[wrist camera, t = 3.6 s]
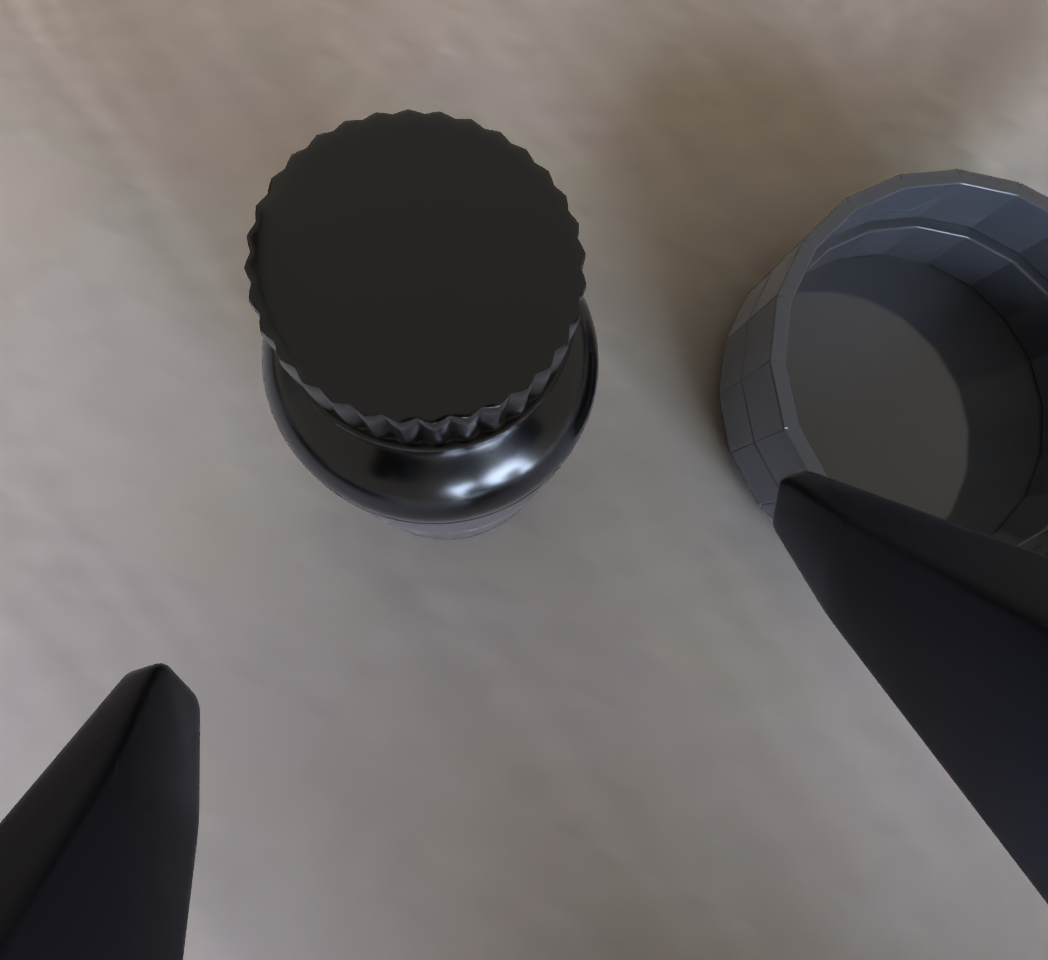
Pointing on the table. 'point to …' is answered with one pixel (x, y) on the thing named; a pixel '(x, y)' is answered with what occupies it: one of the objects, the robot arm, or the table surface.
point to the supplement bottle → (423, 320)
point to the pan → (905, 355)
